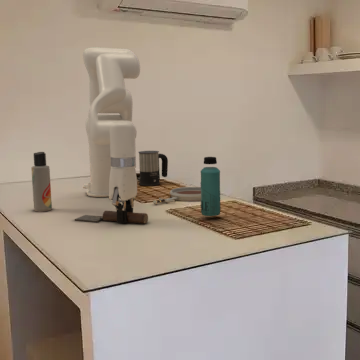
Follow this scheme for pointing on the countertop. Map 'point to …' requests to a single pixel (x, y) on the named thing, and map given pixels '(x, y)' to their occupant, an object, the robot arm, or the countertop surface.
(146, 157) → the milk frother
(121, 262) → the countertop surface
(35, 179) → the lotion bottle
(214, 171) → the beverage bottle
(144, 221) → the spatula
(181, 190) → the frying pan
